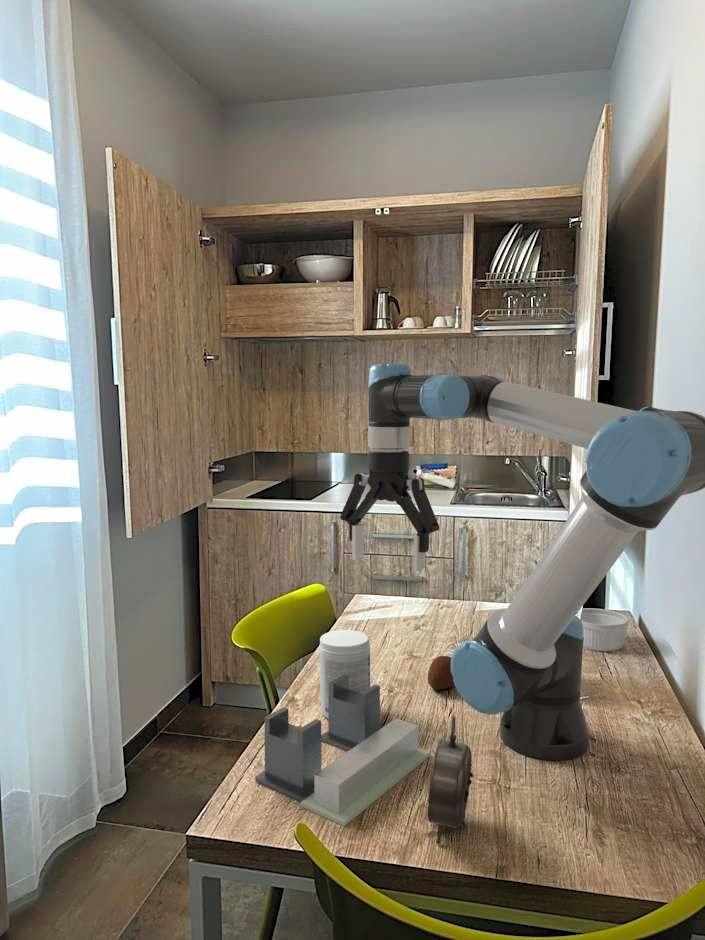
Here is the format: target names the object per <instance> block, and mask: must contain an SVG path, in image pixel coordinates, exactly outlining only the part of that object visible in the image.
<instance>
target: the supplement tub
mask: <svg viewBox="0 0 705 940" xmlns="http://www.w3.org/2000/svg"><path fill="white" fill-rule="evenodd" d="M318 648H319V653H318V655H319V657H318V658H319V659H318V660H319V706H320V707H319V708H320V712H321V714H322V716H323V717H324V718H326V719H328V696H329V683H330V682H332V681H334V680H335V679H337V678H339V677H341V676H343V675H346V676H349V690H352V691H356V692H359V693H361V692H363V691H365V690H366V689H368V688H370V687H371V644H370V637H369V635H367V634H366V633H364V632H362V631H358V630H353V629H352V630H350V629H340V630H339V629H338V630H333V631H328V632H326V633H323V634H322V635H321V636H320V638H319V647H318Z"/></svg>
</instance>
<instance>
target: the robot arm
mask: <svg viewBox="0 0 705 940" xmlns="http://www.w3.org/2000/svg"><path fill="white" fill-rule="evenodd" d="M411 370H412V369H411V367H410V365H408V364H405V363H388V364H387V363H377V364H373V365H371V367H370V369H369V373H368V374H369V376H368V386H367V390H368V391H367V392H368V427H367V428H368V430H367V431H368V433H367V447H368V448H370V449H371V450H369V451H368V452H367V469H368V471H369V473H368V474H367V473H366V472H361V473H355V475H354V478H353V486H352V488H351V490H350V493H349V495H348V497H347V500H346V502H345V504H344V506H343V509H342V511H341V514H340V516H339V518H340V520H342V521H344V522H347V524H348V528H349V529H348V534H349V536H348V539H349V541H350V542H351V560H354V561H356V560H360V559H362V558H364V552H365V551H364V547H365V545H364V543H365V540H364V539H365V537H364V536H365V535H364V533H365V532H364V530H365V529H364V528H365V527H364V526H365V524H364V523H362V520H363V518H364V517H365V516H366V515H367V514H368V512H369V511H370V510H371V508H372V507H373V506H374V505H375V503H376V502H377V501H384V500H385V501H386V502H392V503H393V502H395V503H396V504H397V506H400V508H401V509H402V511H403V512H404V513H405V516H406V517H407V518H408V520H409V521H410V523H411V525H412V527H413V528H414V529H415V532H417V533H416V534H414V535H413V567H412V571H414V572H419V571H422V570H423V569H425V568H426V567H425V566H426V565H425V564H426V553H428V551H429V550H430V534H432V533H435V532H437V531H439V530H440V525H439V523H438V520H437V518H436V515H435V512H434V510H433V507H432V505H431V503H430V500H429V497H428V495H427V493H426V488H425V487H426V486H425V480H424V478H423V477H418V478H413V479H410V478H409V472H410V471H409V470H410V452H409V451H408V450H407V449H409V448H410V434H411V433H410V427H411V419H423V420H424V419H425V420H426V419H427V420H435V421H450V420H457V419H466V418H467V419H470V418H472V419H473V418H474V419H479V420H482V421H486V422H491V423H494V424H498V425H502V426H506V427H508V428H513V429H516V430H519V431H523V432H527V433H530V434H533V435H537V436H540V437H544V438H547V439H552V440H555V441H558V442H562V443H565V444H568V445H571V446H572V445H573V446H575V447H578V448H579V447H580V448H583V449H586V452H585V460H584V463H586V470H585V472H584V473H583V475H582V476H581V478H580V480H579V487H580V491H581V492H582V497H581V498H580V500H579V502H578V503H576V505H575V507H574V509H573V510H572V511H571V513H570V514H569V516H568V518H567V519H566V521H565V522H564V524H563V525H562V526H561V528H560V529H559V531H558V532H557V534H556V535H555V537H554V538H553V540H552V541H551V542H550V544H549V546H548V547H547V549H546V550H545V552H544V553H543V555H542V556H541V558H540V559H539V561H537V564H536V565H535V566H534V568H533V569H532V571H531V572H530V574H529V575H528V577H527V578H526V579H525V581H524V583H523V584H522V586H521V587H520V589H519V591H517V593H516V595H515V596H514V598H513V599H512V600H511V602H510V603H509V605H508V606H507V608H506V609H498V610H495V611H494V612H492V613H491V614H490V616H489V617H488V618H487V620H486V621H485V623H484V624H483V626H482V627H481V628H480V630H479V631H478V633H477V634H476V636H475V637H473V638H472V639H467V640H465V641H462V643H460V644H459V645H458V646H456V648H455V649H454V651H453V652H452V654H451V673H452V675H453V681H454V686H455V688H456V691H457V692H458V694H459V695H460V697H461V698H462V699H463V701H464V702H465V703H466V704H467V705H468V706H469V707H471V709H473V710H475V711H477V712H478V713H481V714H485V715H488V716H489V715H490V716H493V715H497V714H501V713H502V714H501V718H500V722H499V736H500V739H501V740H502V742H503V743H504V744H505V745H506V746H508V747H509V748H510V749H512V750H514V751H516V752H517V753H519V754H521V755H523V756H528V757H530V758H531V757H532V758H535V759H540V760H548V761H564V760H569V759H571V760H572V759H576V758H578V757H580V756H583V755H584V754H585V753H586V752H587V751H588V749H589V745H590V731H589V726H588V723H587V720H586V716H585V713H584V709H583V706H582V703H581V702H582V701H581V689H582V670H583V653H584V652H583V649H584V648H583V641H584V637H583V624H582V621H581V620H580V619H579V618H578V617H577V616H575V615H576V614H577V613H578V611H579V610H580V609H582V607H584V606H585V605H584V604H585V603H586V602H587V601H588V599H589V598H590V597H591V595H592V594H593V592H594V591H595V590H596V589H597V587H598V586H599V584H600V583H601V582H602V581H603V579H604V578H605V576H606V575H607V574H608V573H609V571H610V570H611V569H612V567H613V566H614V564H615V563H616V562H617V561H618V559H619V558H620V557H621V555H622V554H623V552H624V551H625V550H626V549H627V547H628V546H629V545H630V543H631V542H632V540H633V539H634V537H636V535H637V534H638V532H644V531H652V530H656V528H658V526H659V525H660V523H662V521H663V520H664V518H665V517H666V515H667V514H668V513H669V512H670V511H671V509H672V508H673V507H674V505H675V504H676V503H677V502H678V500H679V499H680V498H681V497H682V496H686V495H688V494H689V495H690V494H693V493H696V492H699V491H701V490H703V489H705V416H703V415H702V414H700V413H696V412H693V411H687V410H667V409H662V408H656V407H652V406H645V407H643V408H641V409H640V410H633V409H628V408H625V407H619V406H615V405H612V404H607V403H602V402H597V401H594V400H589V399H584V398H580V397H576V396H573V395H572V396H571V395H566V394H563V393H557V392H553V391H549V390H545V389H539V388H536V387H531V386H528V385H523V384H518V383H515V382H508V381H504V380H503V379H502V378H500V377H497V376H492V375H487V374H486V375H485V374H482V375H458V374H456V375H455V374H449V373H437V374H417V375H416V374H415V375H414V374H412V373H411ZM367 485H369V488H370V489H369V490H368V491H367V493H366V494H365V497H364V499H362V497H363V493H364V492H365V489H366V486H367ZM408 489H409V490H410V491H411V493H412V496H413V497H411V494H410V493H409V492H408ZM361 499H362V501H361ZM412 499H413V500H414V502H415V503H414V502H413V500H412ZM360 501H361V503H360ZM415 504H416V505H415Z"/></svg>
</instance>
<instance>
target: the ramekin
mask: <svg viewBox="0 0 705 940" xmlns="http://www.w3.org/2000/svg"><path fill="white" fill-rule="evenodd" d="M582 609H583V611H582V617H581V621H582V624H583V637H584V641H583V649H587V650H591V651H596V652H614V651H615V652H616V651H619V650H620V649H622V648H623V646H624V644H625V642H626V636H627V630H628V628H629V618H628V617H627V616H626V615H624V614H622V613H620V612H617V611H613V610H609V609H602V608H582Z"/></svg>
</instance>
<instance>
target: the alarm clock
mask: <svg viewBox="0 0 705 940" xmlns="http://www.w3.org/2000/svg"><path fill="white" fill-rule="evenodd" d="M450 727H451V728H450V734H449V740H447V739H444V738H441V739H439V741H438V743H437V745H436V748H435V753H434V758H433V763H432V767H431V773H430V783H429V789H428V802H427V819H428V822H429V823H430V824H435V825H437V834H436V835H437V838H436V840H435V841H436V842H435V843H436V844H437V845H440V844H441V841H442V840H441V838H442V834H443V831H444V827H449V828H453V829H457V828H458V827H460V826H461V825H462V826H463V828H464V829H465V830H467V829H468V827H467V825H466V823H465V819H466V810H467V806H468V805H467V804H468V797H469V796H470V795H469V794H470V792H469V791H470V785H471V784H472V781H473V780H472V779H471V778H473V777H474V773H473V772H472V766H473V764H472V751H471V748H470V747H469V745H467V744H466V743H465V742H464V743H463V742H458V741H456V739H457V736H456V734H455V733H456V716H455V715H454V714H452V716H451V724H450Z"/></svg>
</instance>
